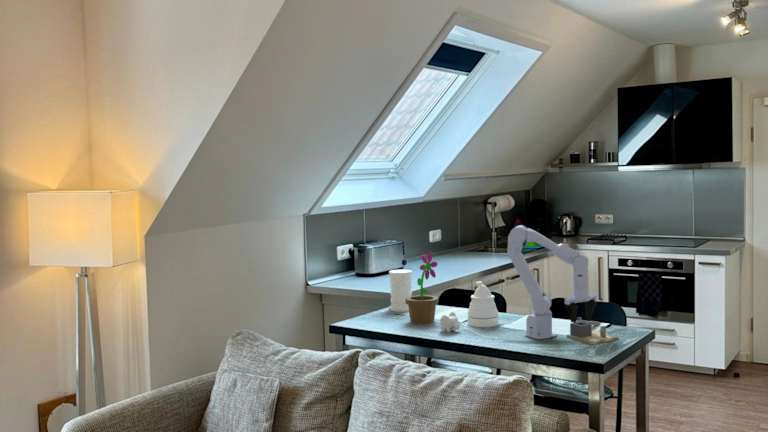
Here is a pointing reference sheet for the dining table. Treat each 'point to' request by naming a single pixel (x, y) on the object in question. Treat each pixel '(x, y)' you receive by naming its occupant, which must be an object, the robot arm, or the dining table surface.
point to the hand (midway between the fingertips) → (581, 321)
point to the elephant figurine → (449, 323)
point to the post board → (596, 337)
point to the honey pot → (482, 308)
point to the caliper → (587, 321)
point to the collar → (581, 329)
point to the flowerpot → (423, 297)
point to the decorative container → (400, 289)
